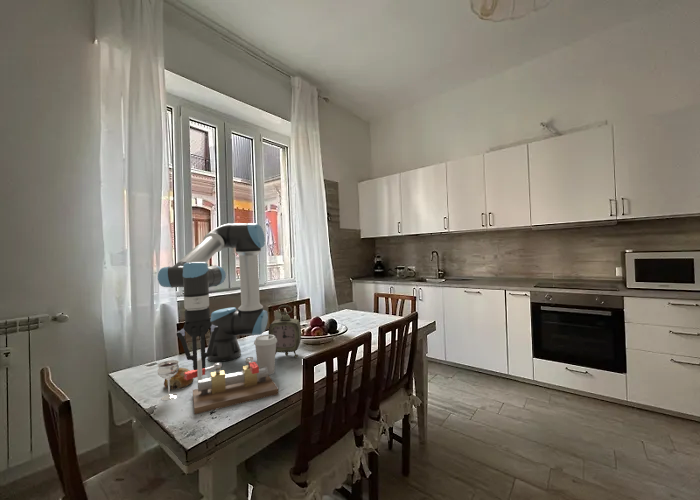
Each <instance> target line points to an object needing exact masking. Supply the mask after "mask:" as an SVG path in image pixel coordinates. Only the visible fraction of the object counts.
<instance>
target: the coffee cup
mask: <svg viewBox="0 0 700 500" xmlns="http://www.w3.org/2000/svg"><path fill="white" fill-rule="evenodd" d="M276 343H277V339H276V337H275V336H274V335H268V334H263V335H262V334H261V335H257V336H256V338H255V340H254V343H253V345H255V354H256V355H255V356H256V364H257V365H258V366H259V368H261V367H267V368H268V375H269V376H270V375H273V374H275V368H276V355H275V354H277V353H276Z"/></svg>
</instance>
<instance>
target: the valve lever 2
mask: <svg viewBox="0 0 700 500" xmlns="http://www.w3.org/2000/svg"><path fill="white" fill-rule="evenodd" d="M245 364H247V365H248V364H249V369H250V371H251V372H252V374H255V373H259V366H258V365H257V361H254V357H253V356H249V357H246V358H245Z"/></svg>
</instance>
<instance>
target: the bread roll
mask: <svg viewBox="0 0 700 500" xmlns="http://www.w3.org/2000/svg"><path fill="white" fill-rule="evenodd" d="M188 371H191V370H190V369H189V368H187V367H179V371H178V373H177V374H176V375H175V376H174V377H172V378H171V379H170V390H179V389H181V388H186V387H187V386H190V385H191V384H192V383H193V382H194V378H193V379H189V380H186V379H184V372H188ZM163 386H164V388H165V389H167V390H168V380H166V379H164V381H163Z"/></svg>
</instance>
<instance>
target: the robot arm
mask: <svg viewBox="0 0 700 500" xmlns="http://www.w3.org/2000/svg"><path fill="white" fill-rule="evenodd" d="M265 239H266V238H265V233H264V230H263V228H262V226H261V225H260V224H259V223H253V222H248V223H247V222H246V223H243V222H242V223H224V224H222V225H219V226H218V227H215V228H213V229H212V230H210V231H209V232H208V233H207V234H205V235H204V236H203V240H202V241H201V242H199V243H198V244H197V245H196V246H195V247H194V248H192V249H191V250H190V251H189V252H188V253H187V254H186V255H184V256H183V257H182V258H181V259H180V260H179V261H178V262H176V263H175V264H174V265H172V266H164V267H162V268H160V269H159V271H158V273H157V281H158V284H159V285H160V286H161V287H163V288H171V289H174V288H183V307H184V309H185V311H184V324H183V328H181V329H180V330H177V331H176V336H177V337H178V339H179V340H180V343H181V346H182V348H183V351H184V354H185V357H186V360H187V361H192V368H193V369H192V370H197V377H196V379H197V382H198V381H199V380H203V379H204V378H203V375H202V369H204V368H207V365H206V362H207V361H206V359H207V360H208V361H209V362H215V363H223V362H227V361H231V360H235V359H237V358H239V357H240V356H241V355H242V351H241V350H242V349H241V346H240V344H239V342H238V338H237V336H251V337H253V336H261V335H262V334H263V333H265V331H266V328H267V324H268V320H269V317H268V316H269V314H268V311H267V310H265V309H264V305H263V304H261V302H260V278H259V275H260V274H259V254H260V253H261V251H262V248H264V246H265V244H266V243H265V242H266V240H265ZM224 249H235V253H236V255H238V259H239V281H240V301H241V302H240V303H241V305H240V306H238V308H236V307H225V308H221V309H217V310H215V311H212V312H211V313H210V309H211V308H209V306H210V292H209V290H210V288H212V287H218V286H219V285H222V284H223V283H224V282H225V281H226V276H227V274H226V270H225V269H224V268H223V267H221V266H219V265H211V266H209V265H208V261H209V260H210V259H212V258H213V256H214V255H216V254H217V253H219V252H221V251H223V250H224ZM209 330H210V336H209V341H208V345H207V348H206V341H205V340H206V334H207V333H208V331H209ZM185 332H186V333H185ZM186 334H187V335H189V337H191V345H192V355H191V353H190V350H189V346H188V343H187V341H186V337H185V336H186ZM197 337H199V338H200V340H199V342H200V357H198V351H197V350H198V348H197ZM206 349H207V351H206Z"/></svg>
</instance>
